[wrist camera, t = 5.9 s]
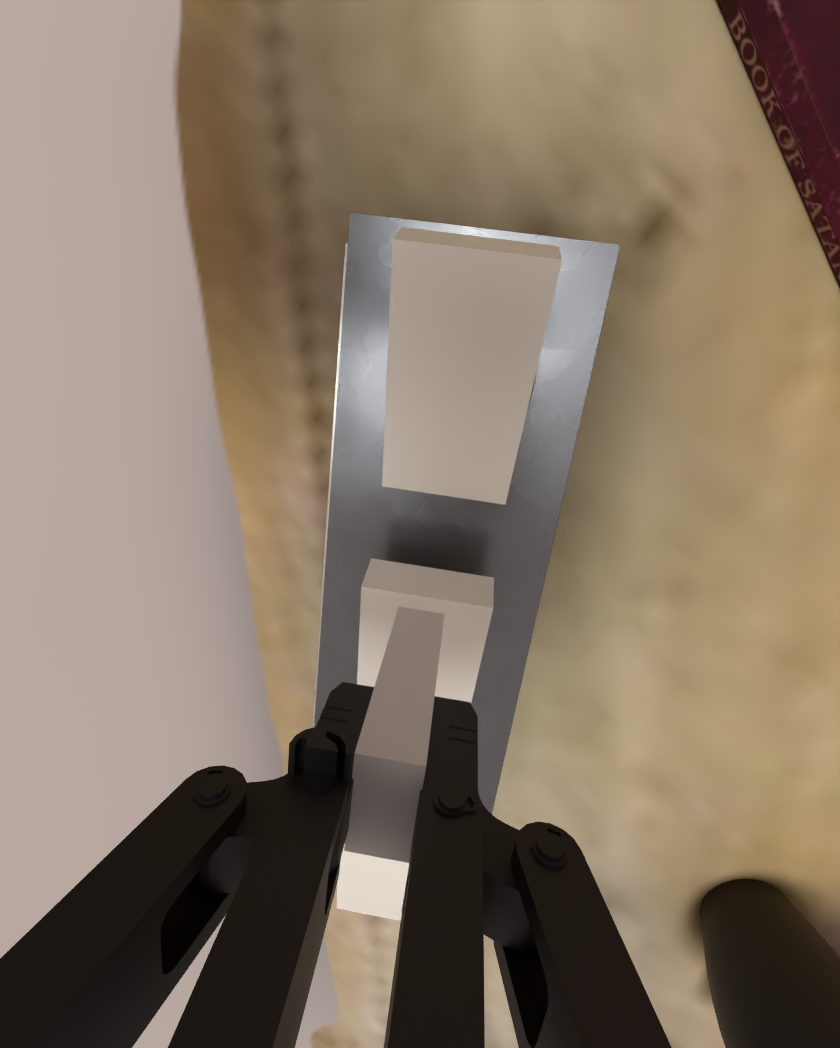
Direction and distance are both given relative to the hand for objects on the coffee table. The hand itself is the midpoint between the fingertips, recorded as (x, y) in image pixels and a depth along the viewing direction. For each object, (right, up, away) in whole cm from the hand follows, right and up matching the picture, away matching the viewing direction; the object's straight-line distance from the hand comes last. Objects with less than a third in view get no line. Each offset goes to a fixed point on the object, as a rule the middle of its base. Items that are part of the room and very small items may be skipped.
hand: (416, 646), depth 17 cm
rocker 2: (+2, +11, +3) cm, 11 cm away
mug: (+21, -23, +19) cm, 37 cm away
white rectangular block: (0, -1, +8) cm, 8 cm away
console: (+1, +1, +13) cm, 13 cm away
